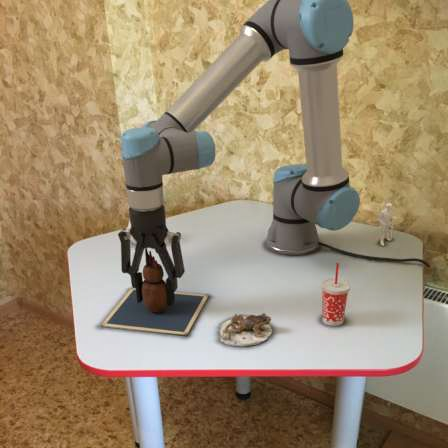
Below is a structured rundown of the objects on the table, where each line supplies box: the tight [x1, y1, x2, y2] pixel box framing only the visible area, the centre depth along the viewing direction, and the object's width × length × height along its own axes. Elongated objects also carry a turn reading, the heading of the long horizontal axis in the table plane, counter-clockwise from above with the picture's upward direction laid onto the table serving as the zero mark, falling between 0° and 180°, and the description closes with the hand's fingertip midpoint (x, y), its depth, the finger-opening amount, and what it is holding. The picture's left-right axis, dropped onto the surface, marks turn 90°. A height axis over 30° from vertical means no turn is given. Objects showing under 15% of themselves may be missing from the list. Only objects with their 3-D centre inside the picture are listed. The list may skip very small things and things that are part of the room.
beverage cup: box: [320, 262, 351, 327], centre depth 115 cm, size 6×6×14 cm
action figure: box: [376, 202, 398, 247], centre depth 152 cm, size 6×4×12 cm, turn 123°
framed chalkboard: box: [100, 287, 210, 337], centre depth 124 cm, size 20×18×1 cm
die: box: [126, 219, 137, 246], centre depth 158 cm, size 8×9×10 cm
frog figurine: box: [219, 313, 273, 348], centre depth 115 cm, size 12×12×4 cm
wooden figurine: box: [142, 248, 168, 313], centre depth 120 cm, size 7×6×15 cm
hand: (156, 301), depth 123 cm, fingers closed on wooden figurine, 7 cm apart
